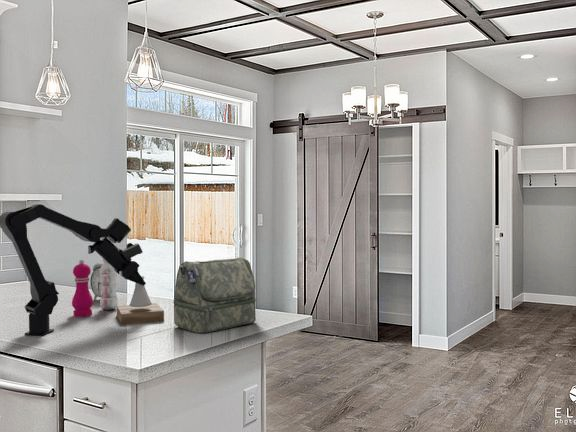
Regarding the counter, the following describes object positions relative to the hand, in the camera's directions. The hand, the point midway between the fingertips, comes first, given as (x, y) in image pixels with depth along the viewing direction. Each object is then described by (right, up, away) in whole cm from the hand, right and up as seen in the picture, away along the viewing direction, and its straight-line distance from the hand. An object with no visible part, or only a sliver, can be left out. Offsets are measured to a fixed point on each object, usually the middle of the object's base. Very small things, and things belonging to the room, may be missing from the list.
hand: (143, 284), depth 211 cm
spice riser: (-2, -12, +2) cm, 12 cm away
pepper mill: (-24, -12, +9) cm, 29 cm away
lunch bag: (+26, -13, -11) cm, 31 cm away
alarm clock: (-26, -11, +42) cm, 50 cm away
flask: (-1, -8, 0) cm, 8 cm away
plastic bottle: (-18, -12, +19) cm, 29 cm away
